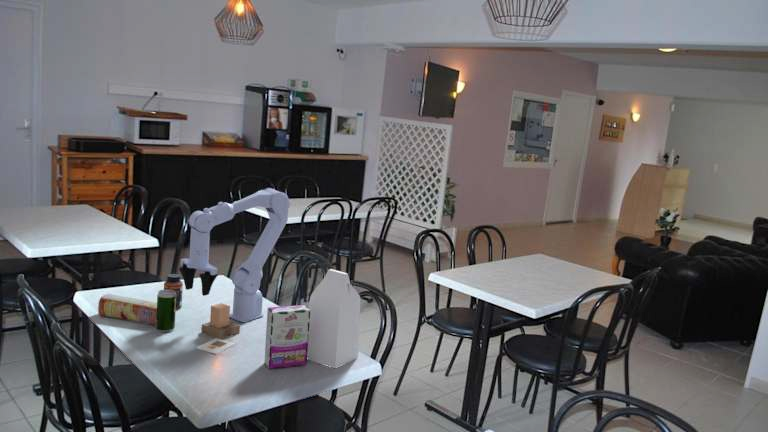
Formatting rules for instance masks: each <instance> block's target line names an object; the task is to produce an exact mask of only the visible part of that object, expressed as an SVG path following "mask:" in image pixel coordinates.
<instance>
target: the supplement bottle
mask: <svg viewBox="0 0 768 432" xmlns="http://www.w3.org/2000/svg"><path fill="white" fill-rule="evenodd" d="M166 277H167V278H166V279H167V280H165V282H164V283H163V290H164V289H170V290H174V291H175V293H176V310H180V309H181V308H182V305H183V285H184V284H183V283H184V282H182V280H181V274H179V273H178V274H177V273H170V274H167V276H166ZM176 310H175V311H176Z"/></svg>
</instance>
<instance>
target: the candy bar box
mask: <svg viewBox="0 0 768 432" xmlns="http://www.w3.org/2000/svg"><path fill="white" fill-rule="evenodd" d="M266 314H267V315H266V330H265V331H266V332H265V344H264V345H265V347H264V364H265V365H266V367H267V369H269V370H276V369H284V368H285V367H286V368H294V367H300V366H307V364H308V359H307V352H308V337H309V325H310V309H309V306H308V307H307V305H305V304H300V305H285V306H271V307H267V311H266Z"/></svg>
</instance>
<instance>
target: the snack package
mask: <svg viewBox="0 0 768 432" xmlns="http://www.w3.org/2000/svg"><path fill="white" fill-rule="evenodd" d="M97 308H98V315H99V316H100V317H108V318H114V319H119V320H126V321H131V322H135V323H142V324H147V325H151V326H155V327H156V316H157V302H154V301H149V300H145V299H138V298H132V297H127V296H122V295H117V294H112V293H107V294H103V295H102V296H101V297H100V298H99V299H98V307H97Z"/></svg>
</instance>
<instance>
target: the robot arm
mask: <svg viewBox="0 0 768 432" xmlns="http://www.w3.org/2000/svg"><path fill="white" fill-rule="evenodd" d="M290 206H291V201H290V198H289V196H288V195H287V194H286V193H285V192H282V191H280V190H279V191H278V190H276V189H274V188H272V187H267V188H264V189H261V190H258V191H256V192H254V193H253V194H252V193H251V195H248V196H245V197H244V198H241V199H239V200H237V201H234V202H232V203H228V202H226V201H225V202H223V201H219V202H217V205H214V206H211V207H209V208H208V207H205V208H203V211H201V210H196V211H194V212H192V214H191V215H190V216H189V218H188V219H187V222H188V225H189V227H190V239H189V240H190V241H189V242H190V243H189V258H185V257H184V258H180V266H181V267H179V270H178V271H179V272H180V273H181V274H180V275H182V276H181V277H182V279H183V283H184V287H185V290H188V291H189V290H192V289H193V287H194V280H195V274H196V271H201V272H203V273H200V274H199V277H200V282H201V293H202V294H201V295H202V296H208V295H209V294H210V291H211V289H212V286H213V283H214V282H215V280H216V279H217V277H218V268H217V267H216V266H214V265H212V264H210V263H209V256H210V254H209V253H210V241H211V240H210V239H211V235H210V234H211V230H212V229H213V228H214V227H215V226H217V225H220V224H221V225H222V223H225V222H228V221H231V220H232V219H234V217H235V215H236V214H238V213H241V212H245V211H247V210H250V209H253V208H256V207H262V208H265V210H266V212H267V216H268V217H269V220H268V222H267V224H266V225H265V227H264V229H263V231H262V233H261V235H260V236H259V238H258V240H257V242H256V243H255V245H254V248H253V249H252V251H251V253H250V254H249V257H248V258H247V260H246V261H244V262H242V263H241V264H240V266H239V268H237V269H236V270H235V271H234V272H232V275H231V281H232V284H233V286H234V290H233V301H232V303H233V305H232V313H230V317H229V319H233V320H236V321H239V322H241V323H247V322H249V321H252V320H256V319H259V318H262V317H264V314H263V313H262V312H263V311H262V310H263V299H264V298H263V294H262V292H261V291H260V290H259V289H260V287H261V280H262V278H263V268H264V265H265V263H266V262H267V260H268V258H269V256H270V255H271V254H270V253H271V252H272V250H273V249H274V247H275V245H276V243H277V242H278V239H279V238H280V235H281V234H282V232H283V230H284V228H285V226H286V224H287V222H288V217H289V208H290Z"/></svg>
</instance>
